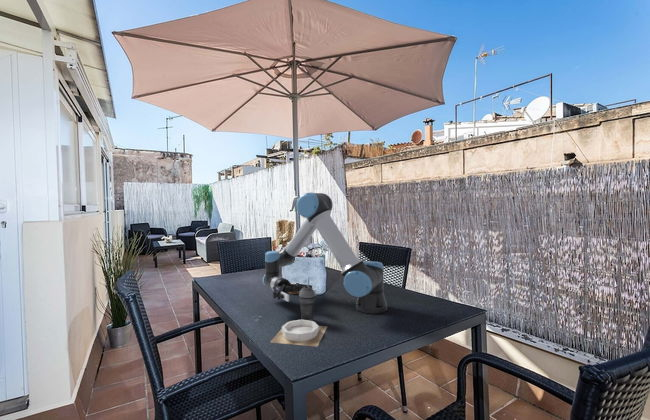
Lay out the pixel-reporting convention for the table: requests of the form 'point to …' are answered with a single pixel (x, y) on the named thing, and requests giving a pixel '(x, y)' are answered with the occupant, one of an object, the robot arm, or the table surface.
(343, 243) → the robot arm
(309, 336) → the bowl
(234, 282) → the table surface
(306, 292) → the beverage cup
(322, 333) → the cork mat
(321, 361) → the table surface
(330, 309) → the table surface
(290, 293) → the bread roll
